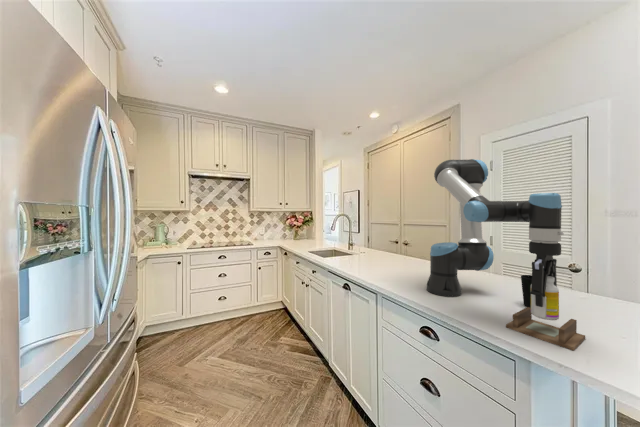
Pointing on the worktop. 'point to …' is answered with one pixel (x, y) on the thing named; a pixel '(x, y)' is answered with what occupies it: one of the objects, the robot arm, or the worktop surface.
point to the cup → (526, 289)
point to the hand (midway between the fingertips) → (544, 313)
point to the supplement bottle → (549, 300)
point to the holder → (547, 330)
